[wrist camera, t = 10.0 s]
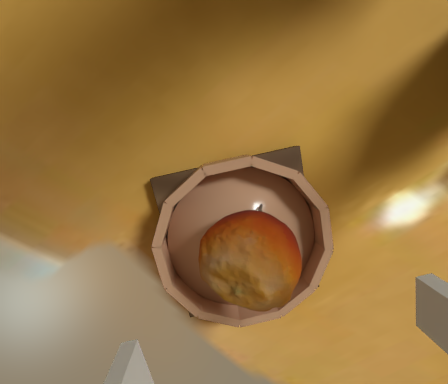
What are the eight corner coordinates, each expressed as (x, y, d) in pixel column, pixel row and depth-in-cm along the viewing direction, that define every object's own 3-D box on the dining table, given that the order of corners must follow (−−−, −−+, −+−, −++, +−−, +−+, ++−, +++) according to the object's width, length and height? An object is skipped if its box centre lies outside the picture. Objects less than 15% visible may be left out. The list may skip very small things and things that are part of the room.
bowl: (140, 178, 20) (130, 182, 18) (307, 140, 21) (321, 140, 18) (183, 321, 24) (180, 341, 21) (326, 287, 24) (339, 303, 22)
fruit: (323, 241, 20) (322, 327, 14) (254, 261, 25) (229, 333, 18) (274, 170, 19) (247, 231, 12) (209, 205, 23) (165, 263, 17)
